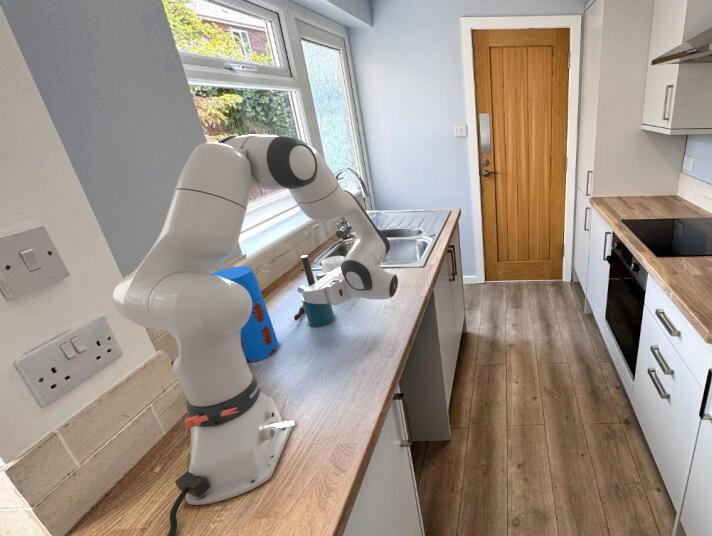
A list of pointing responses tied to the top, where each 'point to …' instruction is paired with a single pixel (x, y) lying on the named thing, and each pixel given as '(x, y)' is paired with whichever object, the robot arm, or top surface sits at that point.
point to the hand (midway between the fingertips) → (308, 282)
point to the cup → (331, 263)
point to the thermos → (253, 316)
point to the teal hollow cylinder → (318, 313)
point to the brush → (308, 270)
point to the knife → (299, 313)
